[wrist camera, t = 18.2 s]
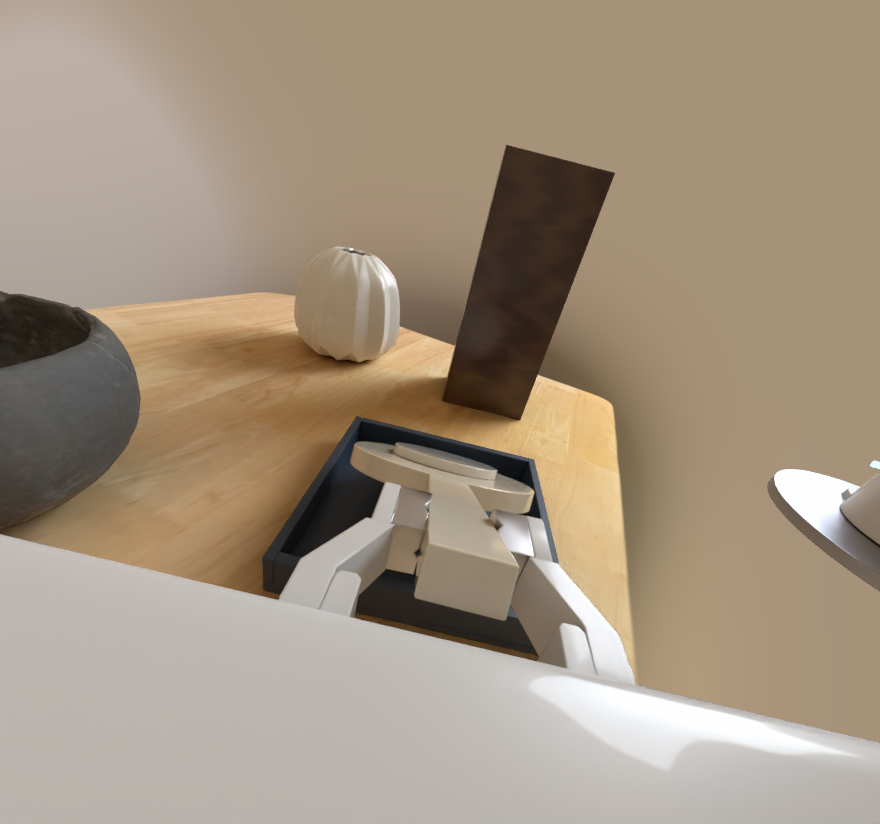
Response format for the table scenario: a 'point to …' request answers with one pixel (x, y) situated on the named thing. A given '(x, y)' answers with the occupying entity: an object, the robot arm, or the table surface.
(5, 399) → the bowl
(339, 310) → the vase
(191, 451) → the table surface
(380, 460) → the beige frying pan
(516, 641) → the tray
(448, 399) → the stand
